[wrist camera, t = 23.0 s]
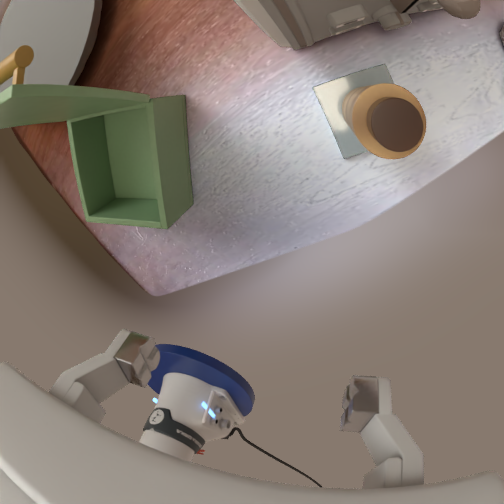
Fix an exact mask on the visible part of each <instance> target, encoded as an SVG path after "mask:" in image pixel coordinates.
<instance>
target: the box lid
mask: <svg viewBox="0 0 504 504" xmlns="http://www.w3.org/2000/svg"><path fill="white" fill-rule="evenodd" d="M33 57H34V52H33V49H32V48H31V47H30V46H28V45H22V46H20V47H19V48H18V49H16V50H15V51H14V52H12V53H11V54H10V55H9V56H7V57H6V58H5V59H4V60H3V61H1V62H0V85H1V84H3V83H4V82H5V81H7V80H8V79H10V78H11V77H12V76H13V81H12V85H11V86H10V87H8V88H7V89H5V90H4V91H2V92H1V93H0V129H1V128H7V127H15V126H22V125H30V124H39V123H50V122H63V121H67V120H70V119H74V118H78V117H81V116H85V115H90V114H94V113H98V112H102V111H107V110H112V109H117V108H122V107H127V106H133V105H139V104H145V103H149V100H150V95H148V94H142V93H135V92H129V91H122V90H114V89H106V88H96V87H86V86H73V85H54V84H23V83H24V74H25V68H26V67H27V66H29V65H30V64H31V62H32V60H33Z"/></svg>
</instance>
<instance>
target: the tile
mask: <svg viewBox="0 0 504 504" xmlns="http://www.w3.org/2000/svg"><path fill="white" fill-rule="evenodd" d="M382 83H390V84H394V83H393V80H392V78H391V76H390V74H389V71H388V69H387V67H386V65H385V64H382V65H379V66H375V67H372V68H368V69H365V70H362V71H359V72H355V73H352V74H349V75H346V76H343V77H340V78H337V79H334V80H331V81H329V82H326V83H323V84H320V85H318V86H315V87H313V90H314V92H315V94H316V96H317V98H318V100H319V103H320V105H321V107H322V109H323V111H324V113H325V116H326V118H327V120H328V122H329V125H330V127H331V129H332V132H333V134H334V136H335V139H336V141H337V144H338V146H339V148H340V151H341V153H342V156H343V158H344V159H345V158H348V157H351V156H354V155H358V154H361V153H364V152H367V151H368V150H367V149H366V148H365V147H364V146H363V145H362V144H361V143H360V141H359V140H358V138H357V137H356V136H355V134H354V133H353V131H352V130H351V129H350V127H349V126H348V125H347V123H346V122H345V120H344V117H343V114H342V103H343V100H344V98H345V96H346V95H347V94H348V93H349V92H350V91H351V90H353V89H355V88H358V87H363V86H369V85H375V84H382Z"/></svg>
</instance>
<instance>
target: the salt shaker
mask: <svg viewBox="0 0 504 504" xmlns="http://www.w3.org/2000/svg"><path fill="white" fill-rule="evenodd" d="M500 36H501V39H502V42H503V45H504V24H503V28H502V30H501V31H500Z"/></svg>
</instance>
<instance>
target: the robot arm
mask: <svg viewBox="0 0 504 504" xmlns="http://www.w3.org/2000/svg"><path fill="white" fill-rule="evenodd" d="M155 344H156V342H155V339H154V338H152V337H149V336H145V335H142V334H139V333H136V332H133V331H130V330H127V329H123V330H121V331H120V332H119V334H118V335H117V336H116V338H115V339H114V341H113V342H112V343H111V345H110V346H109V348H108V349H107V350H106V352H105V353H104V354H102V353H101V354H99V355H97V356H95V357H93V358H91V359H89V360H87V361H85V362H83V363H81V364H79V365H77V366H75V367H73V368H70V369H68V370H66V371H64V372H63V373H62V374H61V376H60V377H59V378H58V380H57V381H56V383H55V384H54V385H53V387H52V388H51V390H50V391H49V392H47V391H46V390H45V389H43V388H42V387H40V386H39V385H37V384H36V383H35V382H33V381H32V380H31V379H29V378H28V377H27V376H25V375H24V374H23V373H22V372H20V371H19V370H18V369H17V368H15V367H14V366H13V365H12V364H10V363H9V362H1V363H0V504H504V480H503V478H502V477H501V476H500V475H499V474H498V473H497V472H496V471H493V470H489V471H485V472H482V473H478V474H474V475H470V476H466V477H462V478H457V479H453V480H447V481H442V482H436V483H429V484H424V455H423V453H422V452H421V450H420V449H419V447H418V446H417V444H416V443H415V441H414V440H413V438H412V437H411V436H410V434H409V433H408V431H407V430H406V428H405V427H404V426H403V424H402V423H401V421H400V420H399V418H398V417H397V416H396V414H392V396H391V381H390V379H389V378H386V377H372V376H354V375H353V376H352V377H351V379H350V385H348V386H347V387H346V389H345V392H344V396H343V403H342V408H343V409H344V413H343V415H342V417H341V427H340V431H348V432H360V435H361V437H362V438H363V441H364V443H365V445H366V447H367V448H368V451H369V452H370V454H371V456H372V459H373V460H374V462H375V464H376V466H377V467H375V468H374V469H372V470H371V471H370V472H368V473H367V474H365V475H364V481H363V488H362V489H343V488H323V487H322V486H321V485H320V484H318V483H317V482H316V481H315V480H313V479H312V478H311V477H309V476H308V475H306V474H304V473H303V472H301V471H299V470H298V469H296V468H294V467H292V466H291V465H289V464H287V463H285V462H283V461H282V460H280V459H278V458H276V457H274V456H273V455H271V454H269V453H268V452H266V451H264V450H263V449H261V448H259V447H258V446H256V445H254V444H253V443H251V442H250V441H248V440H247V439H246V438H245V437H244V436H243V434H242V432H241V430H240V429H239V428H236V427H235V428H233V429H232V426H233V425H239V424H242V423H244V422H245V418H244V416H243V415H242V413H241V412H240V410H239V409H238V407H237V406H236V404H235V403H234V401H233V400H232V398H231V396H230V395H229V393H228V392H227V391H226V390H224V389H222V388H219V387H216V386H212V385H210V384H208V383H206V382H204V381H202V380H200V379H198V378H195V377H193V376H190V375H186V374H182V373H167V374H165V375H164V377H163V382H162V387H161V391H160V394H159V398H158V400H157V399H156V398H154V399H153V401H154V402H155V403H156V406H155V409H154V411H153V412H152V413H151V415H150V416H149V418H148V420H147V422H146V424H145V426H144V428H143V431H144V433H143V435H142V437H141V439H140V441H139V442H137V441H135V440H133V439H130V438H128V437H126V436H124V435H122V434H120V433H118V432H116V431H114V430H112V429H110V428H108V427H106V426H104V425H102V424H100V423H101V421H102V419H103V417H104V415H105V414H106V413H105V410H104V409H103V408H102V407H101V405H100V403H101V402H103V401H104V400H106V399H107V398H109V397H110V396H112V395H113V394H115V393H116V392H117V391H119V390H120V389H122V388H123V387H125V386H126V385H128V384H129V382H130V383H133V384H135V385H138V386H141V387H144V388H145V387H146V386H147V384H148V382H149V380H150V379H151V377H152V376H151V371H153V370H155V369H156V368H157V366H158V364H159V360H160V352H159V349H158V348H157V347H156V346H155ZM231 429H232V431H231ZM235 430H237V431H238V432H239V434H240V436H241V437H242V439H243V440H244V441H246V442H247V443H248V444H250V445H252V446H253V447H255V448H257V449H259V450H260V451H262V452H263V453H265V454H267V455H268V456H270V457H272V458H274V459H275V460H277V461H279V462H281V463H283V464H285V465H286V466H288V467H290V468H292V469H294V470H295V471H297V472H299V473H301V474H303V475H304V476H306V477H307V478H309V479H310V480H312V481H313V482H314V483H316V484H317V485H318V486H319V487H309V486H300V485H292V484H285V483H278V482H272V481H266V480H260V479H255V478H250V477H245V476H240V475H236V474H232V473H228V472H224V471H220V470H217V469H213V468H209V467H206V466H203V465H199V464H196V463H193V462H191V461H192V458H193V456H194V454H196V453H197V454H203V453H200V452H204V450H200V449H201V447H202V446H203V445H204V444H205V442H209V441H213V440H216V439H228V438H229V436H231V435H233V433H234V431H235Z"/></svg>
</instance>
